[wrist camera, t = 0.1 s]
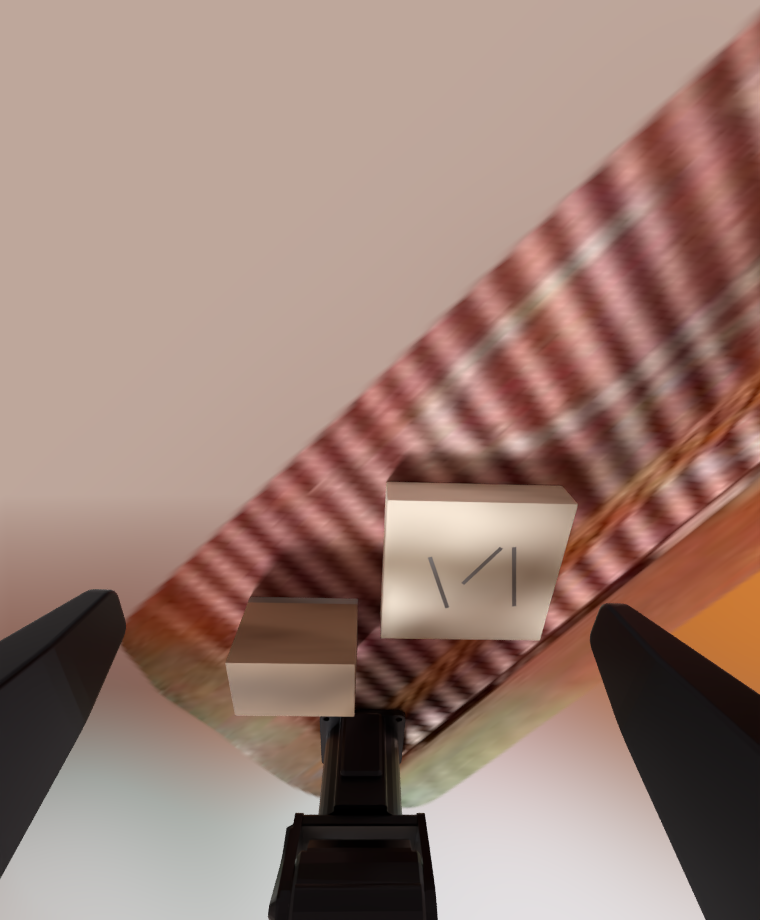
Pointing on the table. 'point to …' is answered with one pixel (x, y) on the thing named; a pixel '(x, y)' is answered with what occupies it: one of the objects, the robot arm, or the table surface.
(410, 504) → the birch board
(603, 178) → the table surface
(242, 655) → the block
